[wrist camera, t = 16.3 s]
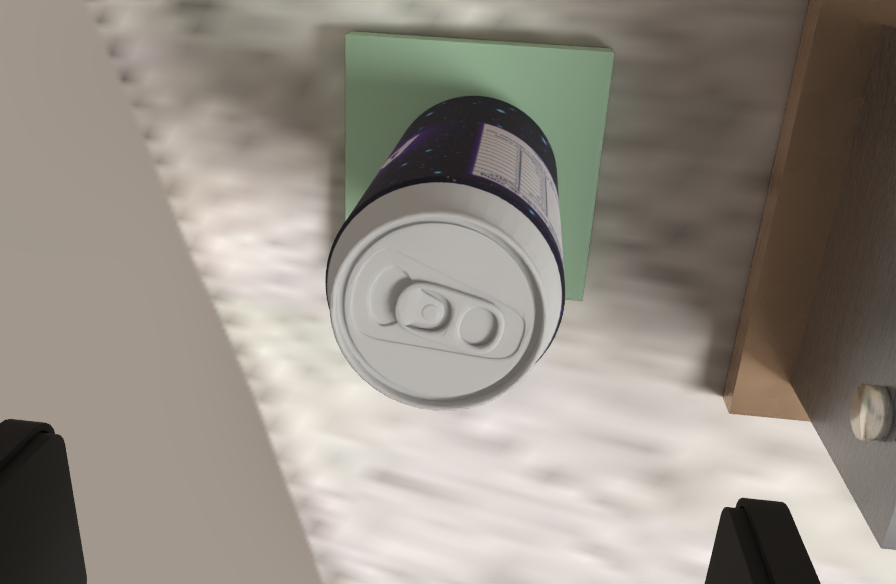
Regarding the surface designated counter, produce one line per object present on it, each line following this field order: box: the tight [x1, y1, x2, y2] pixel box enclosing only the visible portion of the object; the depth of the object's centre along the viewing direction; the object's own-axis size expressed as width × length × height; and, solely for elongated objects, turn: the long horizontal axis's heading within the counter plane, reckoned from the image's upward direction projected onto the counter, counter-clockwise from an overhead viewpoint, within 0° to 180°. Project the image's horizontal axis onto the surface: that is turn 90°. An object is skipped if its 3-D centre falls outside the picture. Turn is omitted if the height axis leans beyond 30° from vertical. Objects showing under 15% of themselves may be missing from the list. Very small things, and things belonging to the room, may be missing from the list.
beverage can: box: [326, 96, 565, 411], centre depth 24 cm, size 6×6×12 cm
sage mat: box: [345, 31, 615, 301], centre depth 30 cm, size 9×9×1 cm
